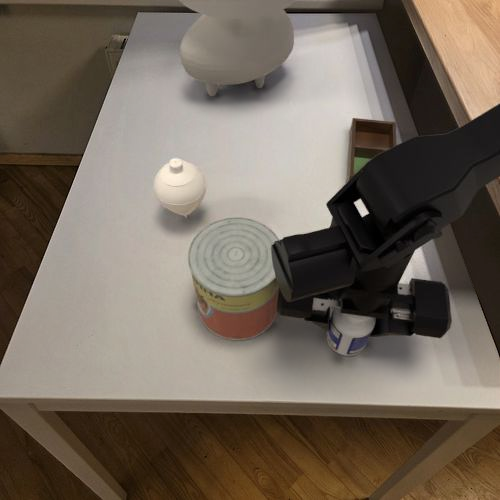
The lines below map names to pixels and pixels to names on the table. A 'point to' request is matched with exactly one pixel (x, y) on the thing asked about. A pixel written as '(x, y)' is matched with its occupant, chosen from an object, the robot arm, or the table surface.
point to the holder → (368, 142)
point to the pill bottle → (349, 332)
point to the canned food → (234, 277)
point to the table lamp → (236, 41)
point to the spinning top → (180, 186)
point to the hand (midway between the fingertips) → (348, 330)
